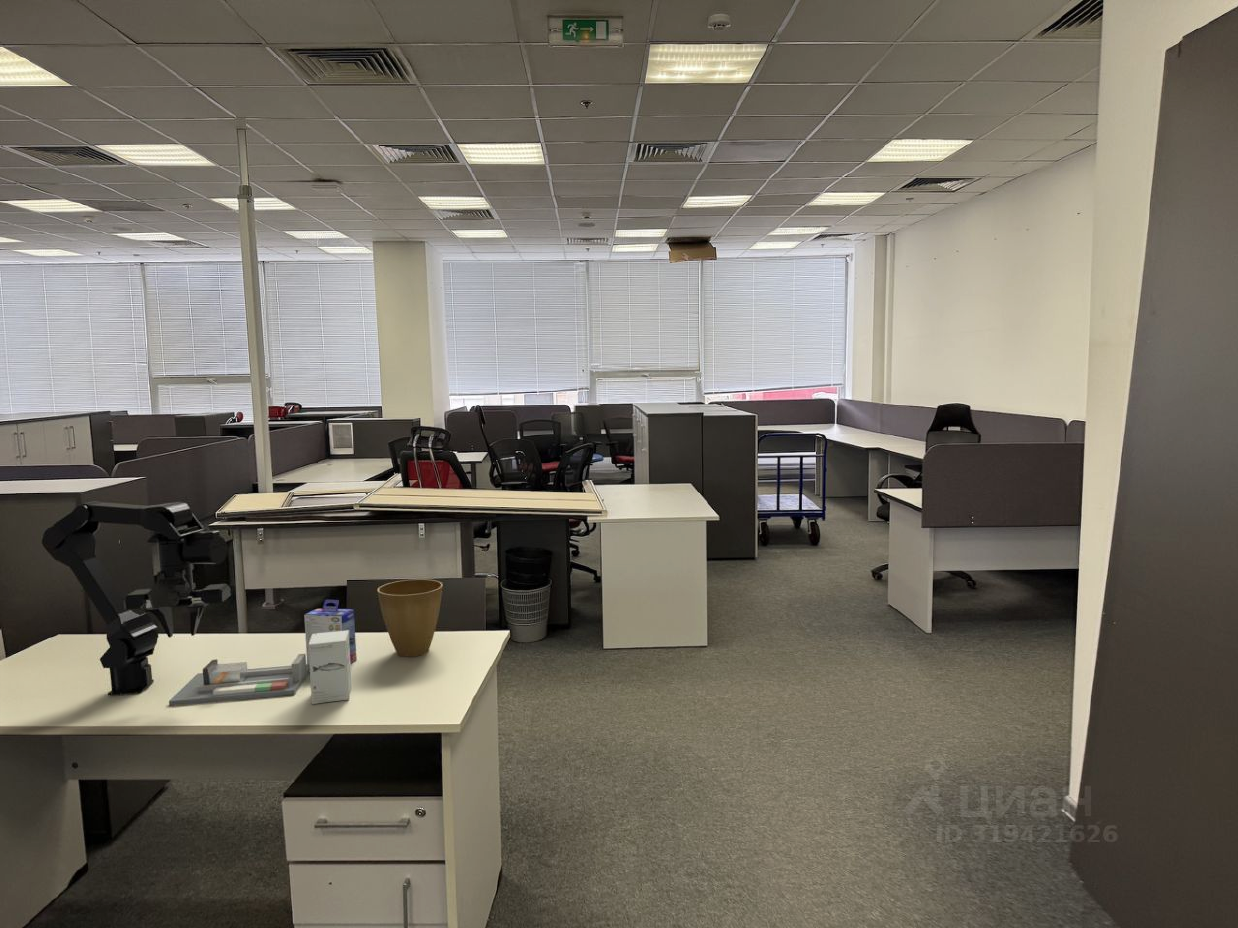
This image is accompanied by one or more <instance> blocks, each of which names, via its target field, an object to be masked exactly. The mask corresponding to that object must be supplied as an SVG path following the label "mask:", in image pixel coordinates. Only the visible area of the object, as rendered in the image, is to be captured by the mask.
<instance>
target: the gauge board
mask: <svg viewBox="0 0 1238 928" xmlns="http://www.w3.org/2000/svg"><path fill="white" fill-rule="evenodd" d="M247 669H248V676H247V677H246V678H245V679H244V680H243V682H235V683H223V684H212V685H204V680H203V672H200V673H199V672H198V673H196V674H195V675H194V677H192V678H191V679H190V680H189V681H188V682H186V684H185V685H184V686H183V687H182V688H181V689H180V690H178V691H177V693H176V694H174V696H173V697H171V698H170V700H169V701H168V705H169V706H170V707H173V706H181V705H182V706H183V705H193V704H195V705H196V704H204V703H214V702H215V703H217V702H228V701H238V700H249V699H250V700H251V699H261V698H270V697H283V696H294V695H296V694H297V692H298V690H299V689H300V687H301V686H302V684H303V682H304V681H305V680H306V678H307V676H308V675H309V674H310V664H307V654H306V653H299V654H297V656H296V658H295V659H294V660H293V661H292V663H291V665H284V666H283V665H282V666H270V667H269V666H268V667H259V668H247Z"/></svg>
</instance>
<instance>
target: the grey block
mask: <svg viewBox="0 0 1238 928" xmlns="http://www.w3.org/2000/svg"><path fill="white" fill-rule="evenodd" d="M218 662H219V661H218V659H211V661H210V662H209V663H207V665H205V666H204V667H203V668H202V673H203V680H204V685H212V684H223V683H235V682H243V680H244V679H245V678H246V677H247V676H248V669H249V668H248V662H247V661H242V662H241V661H239V662H231V663H230V662H229V663H218Z"/></svg>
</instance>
